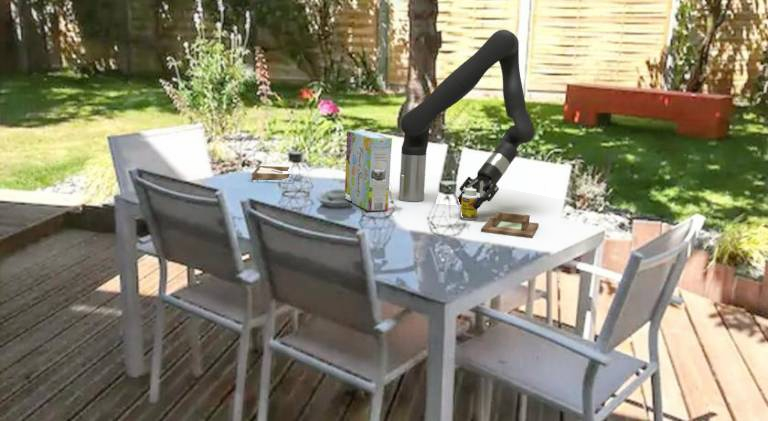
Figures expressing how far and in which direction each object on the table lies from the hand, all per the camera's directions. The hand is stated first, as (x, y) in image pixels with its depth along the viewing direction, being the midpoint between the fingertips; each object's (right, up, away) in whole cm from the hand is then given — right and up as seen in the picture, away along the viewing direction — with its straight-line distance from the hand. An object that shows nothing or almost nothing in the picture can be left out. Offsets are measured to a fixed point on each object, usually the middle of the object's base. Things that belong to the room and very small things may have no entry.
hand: (466, 205), depth 240 cm
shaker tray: (-73, +12, +56) cm, 92 cm away
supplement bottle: (+1, -5, +2) cm, 5 cm away
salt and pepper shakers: (-75, +11, +55) cm, 93 cm away
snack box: (-34, 0, +16) cm, 38 cm away
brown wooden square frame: (+13, -8, -9) cm, 18 cm away
